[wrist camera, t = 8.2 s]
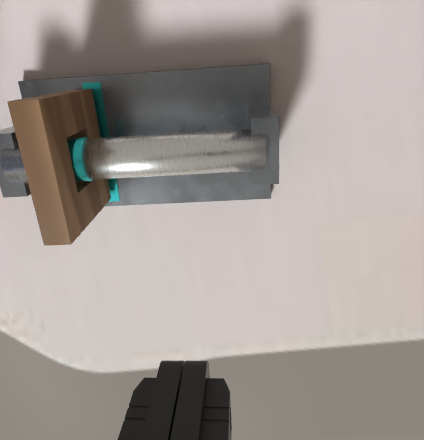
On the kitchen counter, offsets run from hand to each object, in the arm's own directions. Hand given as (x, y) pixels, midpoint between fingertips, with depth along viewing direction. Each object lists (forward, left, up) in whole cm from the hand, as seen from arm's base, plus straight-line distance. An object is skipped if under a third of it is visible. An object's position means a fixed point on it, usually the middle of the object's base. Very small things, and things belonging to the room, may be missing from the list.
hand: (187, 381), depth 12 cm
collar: (+11, -3, -25) cm, 28 cm away
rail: (+6, -3, -27) cm, 27 cm away
